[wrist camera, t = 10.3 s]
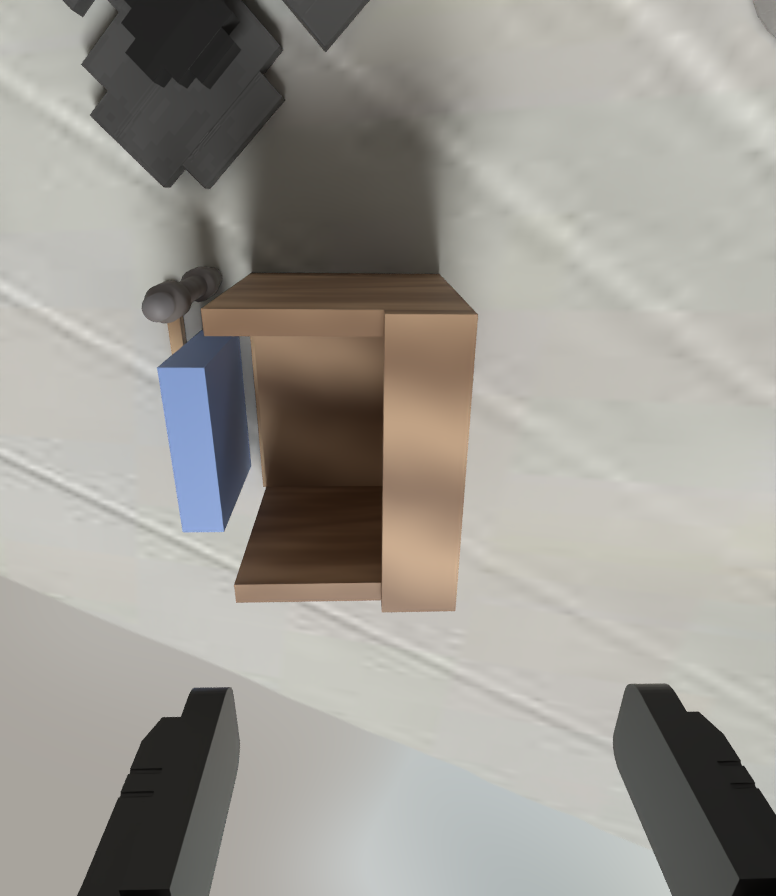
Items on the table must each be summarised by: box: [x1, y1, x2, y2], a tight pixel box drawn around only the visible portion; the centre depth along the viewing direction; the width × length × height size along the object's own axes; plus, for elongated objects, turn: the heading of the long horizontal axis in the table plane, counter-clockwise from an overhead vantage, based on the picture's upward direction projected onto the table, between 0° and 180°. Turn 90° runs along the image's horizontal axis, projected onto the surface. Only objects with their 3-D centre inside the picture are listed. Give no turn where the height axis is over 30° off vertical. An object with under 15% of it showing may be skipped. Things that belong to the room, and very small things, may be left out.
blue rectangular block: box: [157, 330, 251, 532], centre depth 36 cm, size 10×2×9 cm, turn 179°
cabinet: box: [142, 266, 478, 612], centre depth 33 cm, size 17×18×14 cm
